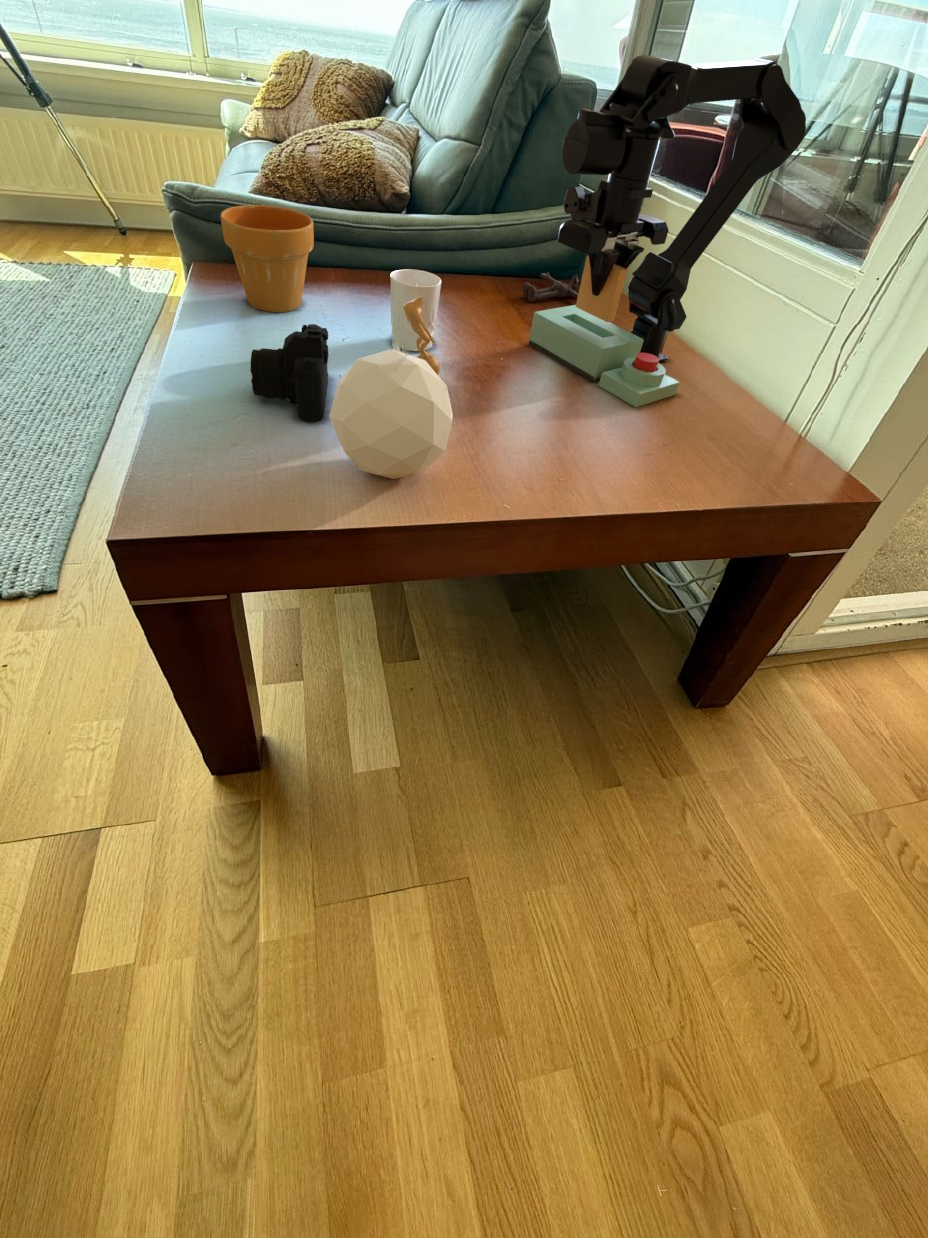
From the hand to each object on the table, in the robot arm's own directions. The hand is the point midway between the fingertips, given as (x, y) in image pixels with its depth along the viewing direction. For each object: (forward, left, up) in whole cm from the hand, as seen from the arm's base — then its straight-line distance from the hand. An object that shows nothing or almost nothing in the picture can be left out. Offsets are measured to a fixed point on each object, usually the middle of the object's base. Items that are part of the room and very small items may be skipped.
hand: (599, 294), depth 99 cm
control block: (-1, +12, -11) cm, 16 cm away
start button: (-1, +12, -7) cm, 14 cm away
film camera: (+49, -8, -11) cm, 51 cm away
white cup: (+23, -17, -11) cm, 31 cm away
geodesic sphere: (+47, +13, -11) cm, 50 cm away
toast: (0, 0, -3) cm, 3 cm away
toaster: (-1, -1, -11) cm, 11 cm away
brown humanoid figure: (-18, -25, -11) cm, 33 cm away
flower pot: (+36, -40, -11) cm, 55 cm away
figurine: (+30, -5, -11) cm, 33 cm away
